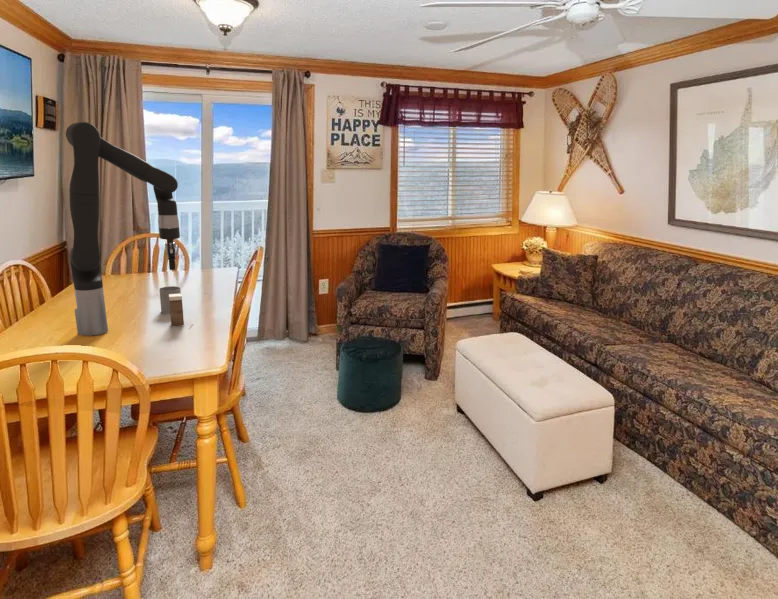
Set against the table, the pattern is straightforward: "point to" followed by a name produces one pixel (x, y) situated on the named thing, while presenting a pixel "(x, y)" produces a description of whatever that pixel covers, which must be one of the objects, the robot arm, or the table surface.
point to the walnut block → (176, 309)
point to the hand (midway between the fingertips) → (172, 269)
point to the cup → (167, 297)
